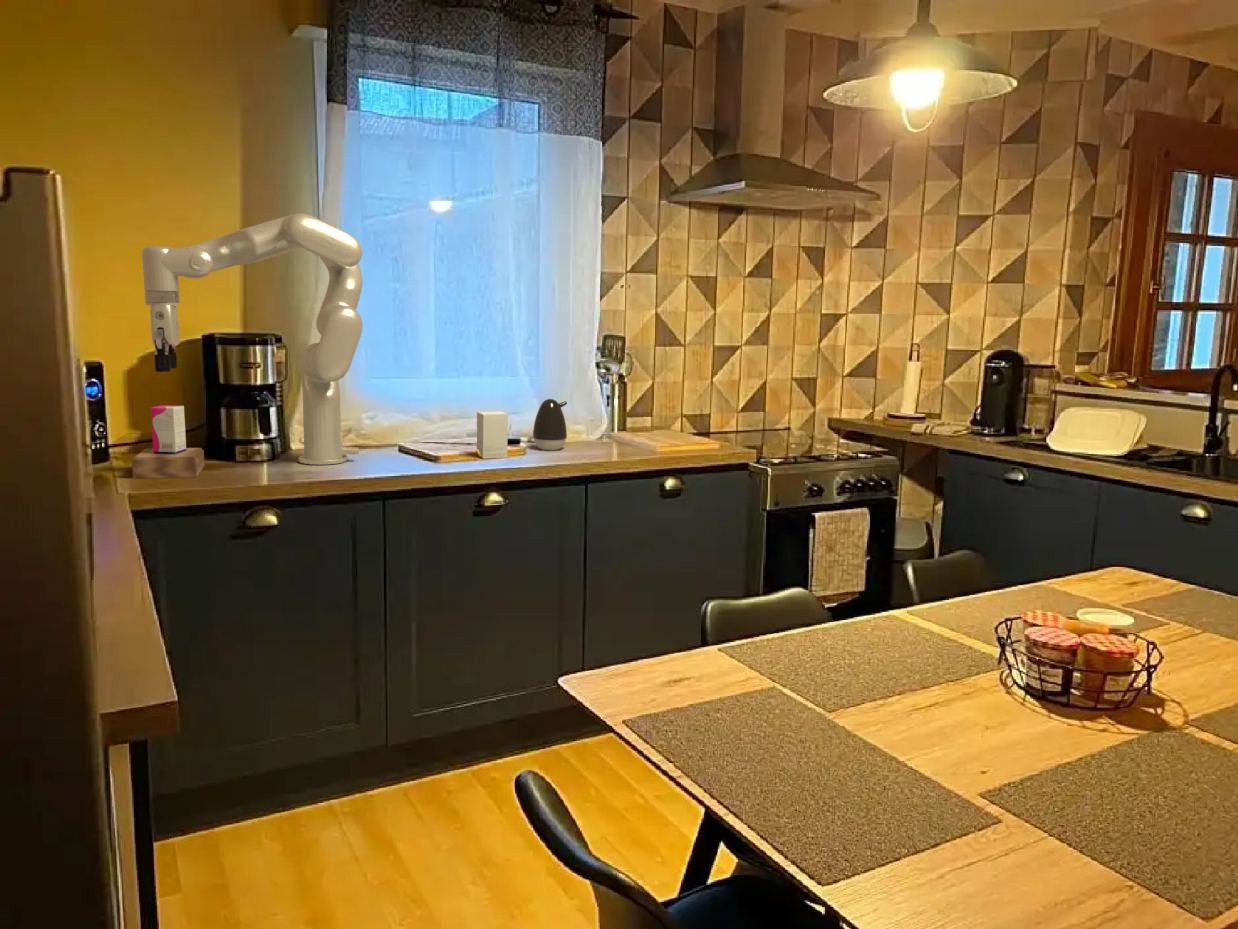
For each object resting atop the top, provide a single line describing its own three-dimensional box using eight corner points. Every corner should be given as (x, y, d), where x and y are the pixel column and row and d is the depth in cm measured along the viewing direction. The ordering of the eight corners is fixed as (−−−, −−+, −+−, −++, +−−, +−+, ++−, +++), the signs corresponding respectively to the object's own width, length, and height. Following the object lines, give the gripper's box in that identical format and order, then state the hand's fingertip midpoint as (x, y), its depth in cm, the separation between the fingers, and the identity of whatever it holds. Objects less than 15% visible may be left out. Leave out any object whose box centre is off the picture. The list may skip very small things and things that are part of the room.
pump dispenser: (572, 451, 289) (573, 400, 286) (539, 452, 284) (540, 401, 282) (559, 445, 298) (560, 396, 295) (527, 447, 293) (528, 397, 291)
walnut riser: (204, 466, 248) (203, 447, 247) (196, 477, 235) (195, 456, 234) (144, 467, 244) (143, 448, 243) (132, 478, 231) (131, 457, 230)
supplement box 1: (187, 450, 242) (184, 405, 240) (175, 454, 236) (173, 407, 234) (164, 449, 242) (161, 404, 240) (152, 453, 236) (149, 407, 234)
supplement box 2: (508, 458, 273) (508, 413, 271) (482, 459, 271) (482, 414, 269) (501, 453, 280) (501, 410, 278) (476, 454, 277) (476, 411, 275)
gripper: (173, 299, 226) (177, 373, 229) (184, 298, 242) (188, 366, 245) (138, 299, 224) (142, 373, 227) (151, 297, 240) (156, 367, 243)
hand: (166, 369), depth 236 cm, fingers open, 9 cm apart
